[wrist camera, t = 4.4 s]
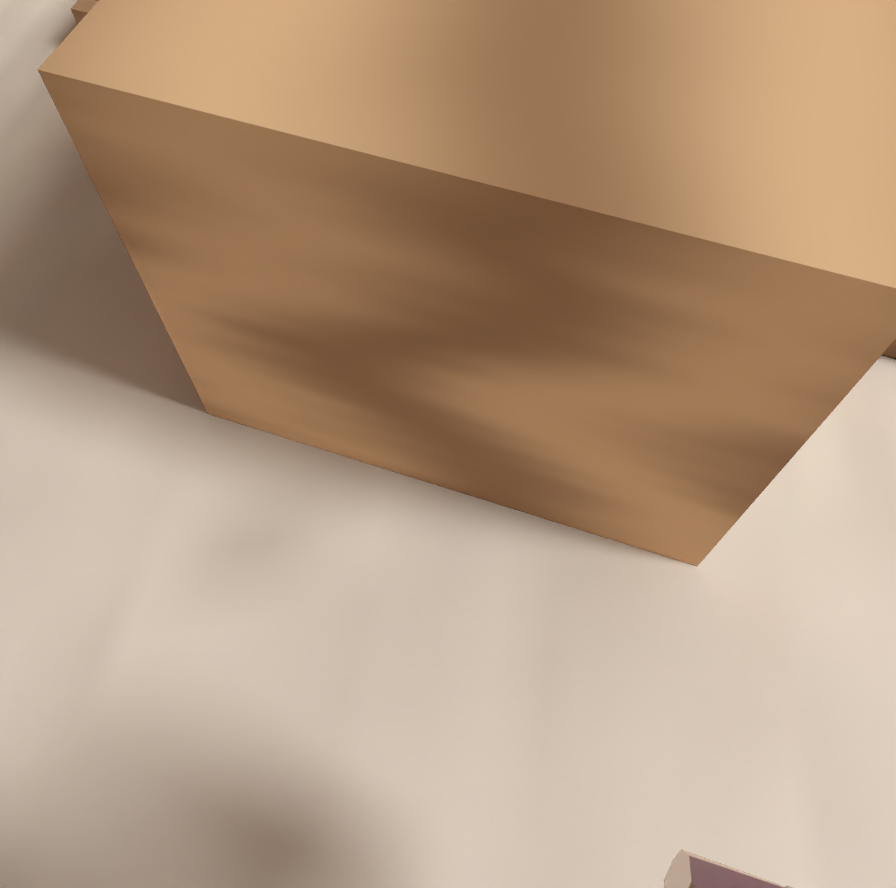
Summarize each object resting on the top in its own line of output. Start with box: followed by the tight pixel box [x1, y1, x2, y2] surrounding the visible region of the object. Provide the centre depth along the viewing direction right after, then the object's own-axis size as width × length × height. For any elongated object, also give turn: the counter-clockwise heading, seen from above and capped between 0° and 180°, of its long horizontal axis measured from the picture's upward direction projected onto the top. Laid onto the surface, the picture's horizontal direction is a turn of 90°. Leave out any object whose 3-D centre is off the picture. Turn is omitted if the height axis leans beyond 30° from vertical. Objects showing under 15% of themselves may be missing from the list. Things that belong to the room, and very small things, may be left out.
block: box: [38, 0, 896, 566], centre depth 14 cm, size 10×10×8 cm
